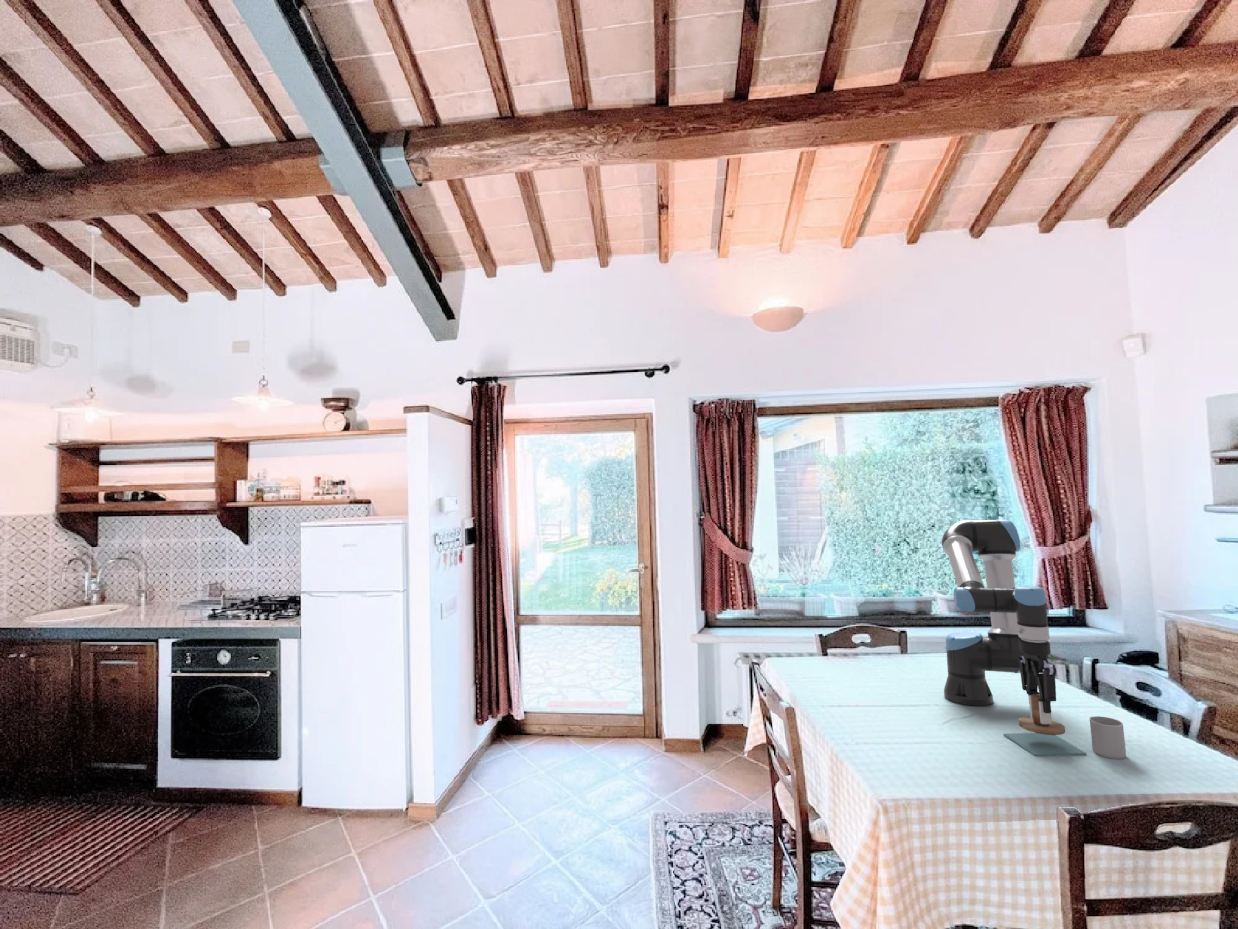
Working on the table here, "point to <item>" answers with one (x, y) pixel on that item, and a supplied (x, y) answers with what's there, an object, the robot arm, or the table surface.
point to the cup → (1107, 737)
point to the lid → (1035, 723)
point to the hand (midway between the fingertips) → (1041, 720)
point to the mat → (1043, 744)
